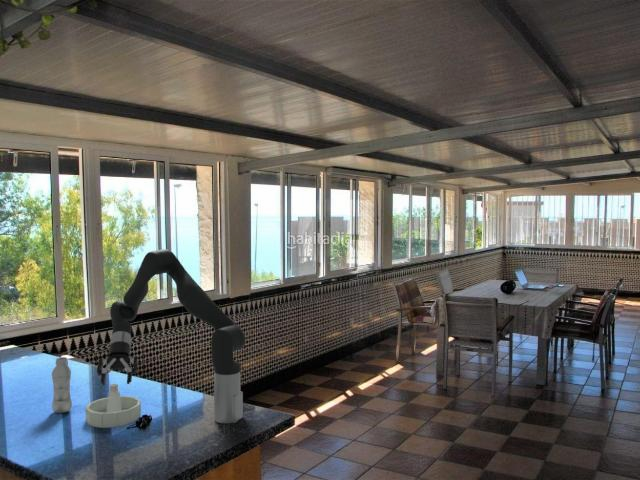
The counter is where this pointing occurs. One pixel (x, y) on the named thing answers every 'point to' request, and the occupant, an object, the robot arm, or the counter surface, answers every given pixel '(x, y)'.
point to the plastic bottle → (61, 386)
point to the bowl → (113, 413)
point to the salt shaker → (114, 399)
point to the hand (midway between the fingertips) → (116, 383)
